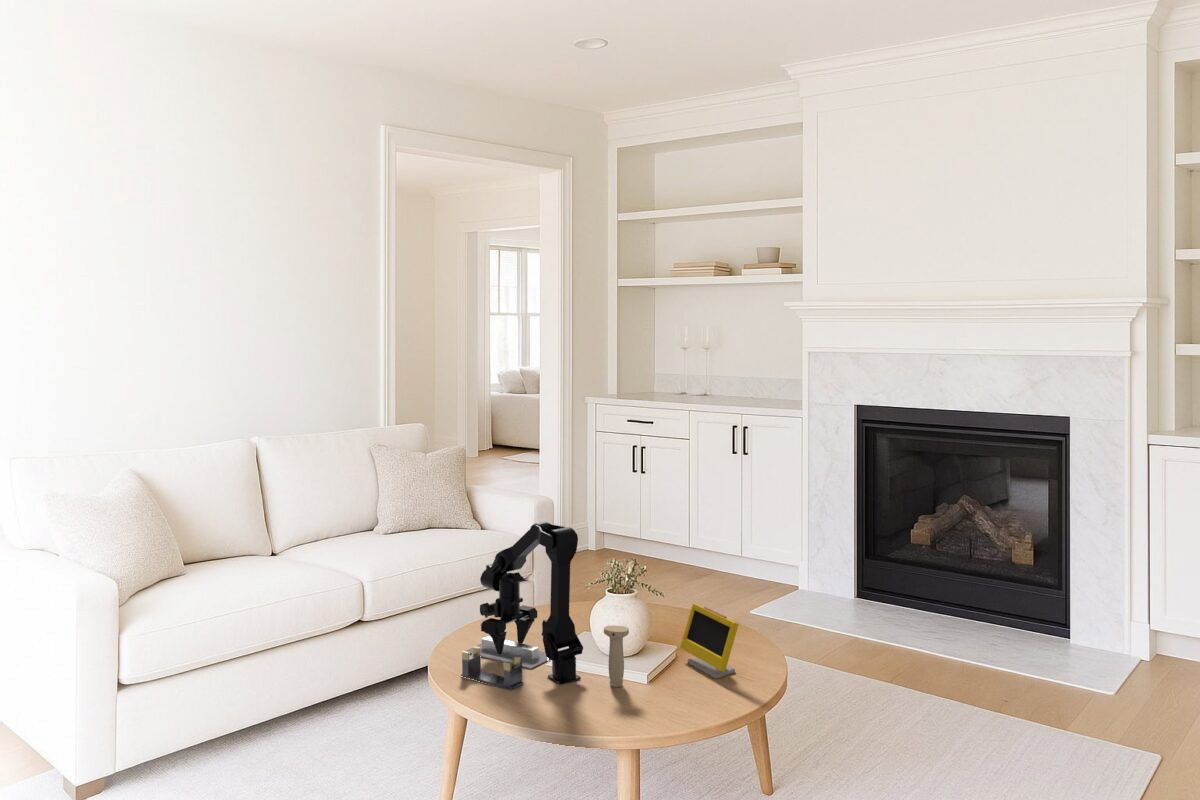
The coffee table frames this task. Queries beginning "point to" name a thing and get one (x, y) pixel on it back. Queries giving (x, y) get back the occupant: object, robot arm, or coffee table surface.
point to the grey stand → (508, 681)
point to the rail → (512, 649)
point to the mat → (511, 658)
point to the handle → (616, 653)
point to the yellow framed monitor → (709, 641)
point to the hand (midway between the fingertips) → (510, 649)
